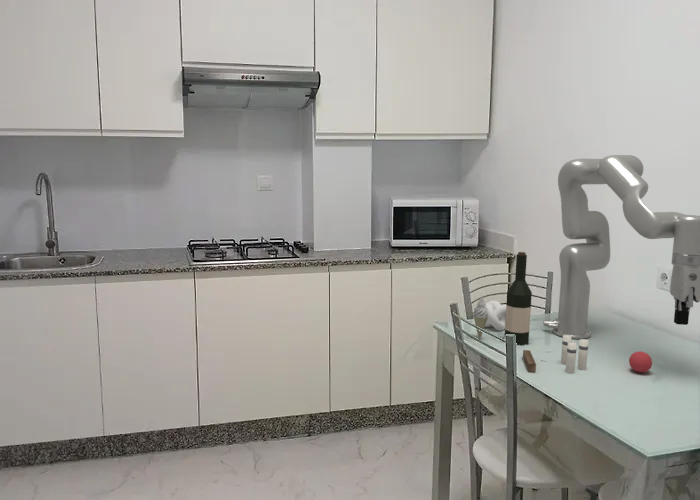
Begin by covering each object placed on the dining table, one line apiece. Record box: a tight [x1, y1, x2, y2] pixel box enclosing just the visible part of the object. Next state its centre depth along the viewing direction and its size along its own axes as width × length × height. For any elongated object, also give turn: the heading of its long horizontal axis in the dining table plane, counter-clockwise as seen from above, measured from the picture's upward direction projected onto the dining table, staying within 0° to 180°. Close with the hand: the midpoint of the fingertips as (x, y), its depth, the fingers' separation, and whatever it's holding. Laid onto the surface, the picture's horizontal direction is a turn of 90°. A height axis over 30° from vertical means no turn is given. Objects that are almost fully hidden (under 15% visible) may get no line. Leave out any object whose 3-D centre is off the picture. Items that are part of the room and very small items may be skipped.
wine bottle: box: [504, 251, 533, 346], centre depth 197 cm, size 8×8×30 cm
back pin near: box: [565, 341, 577, 374], centre depth 172 cm, size 2×2×8 cm
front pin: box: [576, 338, 589, 371], centre depth 175 cm, size 2×2×8 cm
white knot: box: [484, 300, 506, 332], centre depth 214 cm, size 11×12×9 cm
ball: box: [628, 351, 653, 374], centre depth 173 cm, size 6×6×6 cm
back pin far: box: [560, 335, 572, 366], centre depth 179 cm, size 2×2×8 cm
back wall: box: [522, 349, 537, 373], centre depth 178 cm, size 2×12×2 cm, turn 171°
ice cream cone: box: [473, 295, 489, 340], centre depth 200 cm, size 5×5×15 cm
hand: (680, 323), depth 170 cm, fingers closed
